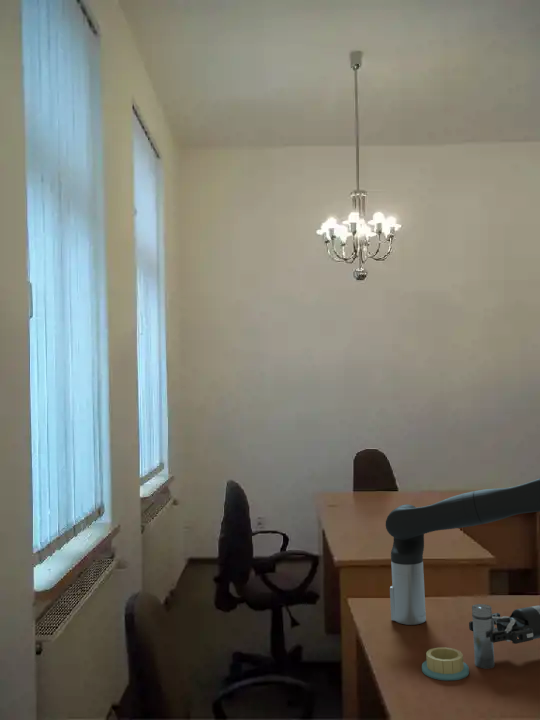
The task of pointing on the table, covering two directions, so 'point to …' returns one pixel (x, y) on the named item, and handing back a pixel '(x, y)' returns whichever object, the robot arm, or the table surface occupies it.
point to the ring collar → (445, 664)
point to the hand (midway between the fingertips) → (480, 632)
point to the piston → (483, 636)
